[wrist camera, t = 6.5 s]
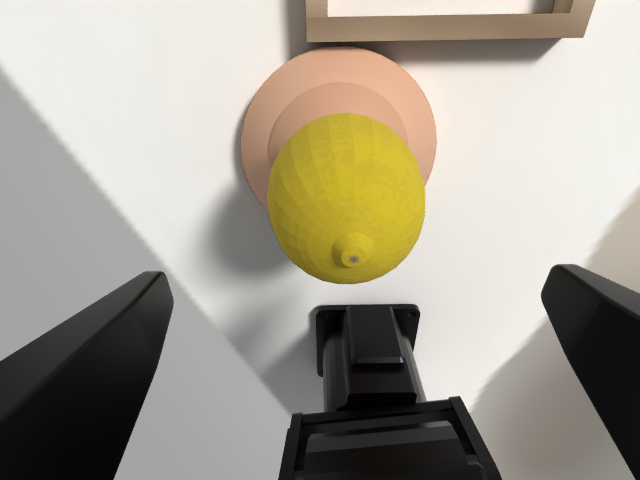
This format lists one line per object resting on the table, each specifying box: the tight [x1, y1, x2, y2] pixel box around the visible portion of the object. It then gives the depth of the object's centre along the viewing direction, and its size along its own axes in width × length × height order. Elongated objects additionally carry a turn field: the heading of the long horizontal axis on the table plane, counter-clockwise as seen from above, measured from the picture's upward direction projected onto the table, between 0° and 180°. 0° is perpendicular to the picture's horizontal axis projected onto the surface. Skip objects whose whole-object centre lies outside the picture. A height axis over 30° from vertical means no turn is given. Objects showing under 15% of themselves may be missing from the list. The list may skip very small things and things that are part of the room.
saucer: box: [241, 46, 437, 212], centre depth 17 cm, size 9×9×1 cm
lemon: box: [267, 113, 425, 284], centre depth 13 cm, size 6×6×8 cm
